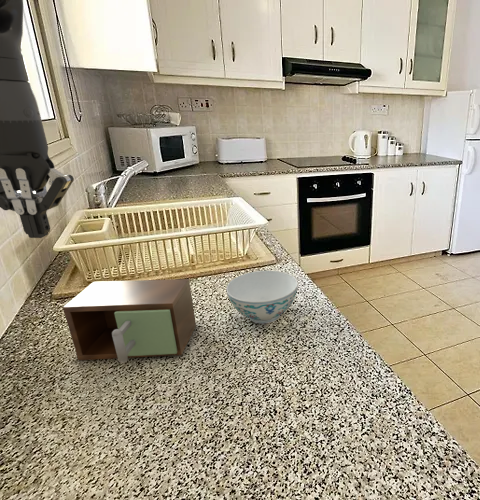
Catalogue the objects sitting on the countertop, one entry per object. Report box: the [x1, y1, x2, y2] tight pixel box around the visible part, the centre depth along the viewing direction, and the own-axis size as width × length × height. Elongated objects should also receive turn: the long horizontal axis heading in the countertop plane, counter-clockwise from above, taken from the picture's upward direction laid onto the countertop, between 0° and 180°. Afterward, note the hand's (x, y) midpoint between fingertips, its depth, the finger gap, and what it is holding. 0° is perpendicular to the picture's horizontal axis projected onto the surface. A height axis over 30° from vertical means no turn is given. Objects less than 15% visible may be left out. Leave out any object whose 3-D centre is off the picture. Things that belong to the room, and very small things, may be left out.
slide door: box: [112, 309, 177, 364], centre depth 64 cm, size 9×5×9 cm, turn 96°
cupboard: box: [62, 278, 197, 361], centre depth 71 cm, size 18×10×11 cm, turn 96°
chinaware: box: [225, 269, 299, 325], centre depth 82 cm, size 15×15×8 cm
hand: (39, 236), depth 57 cm, fingers closed
